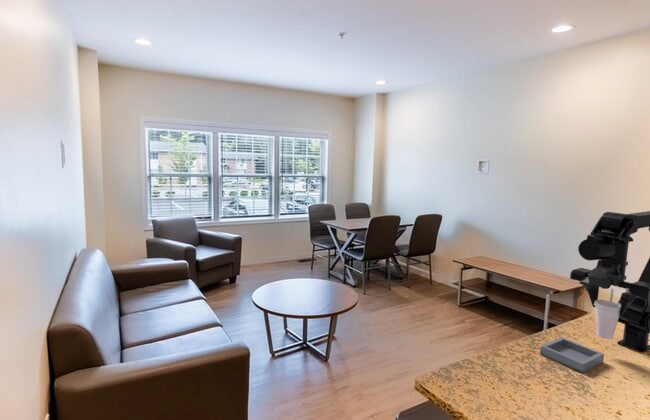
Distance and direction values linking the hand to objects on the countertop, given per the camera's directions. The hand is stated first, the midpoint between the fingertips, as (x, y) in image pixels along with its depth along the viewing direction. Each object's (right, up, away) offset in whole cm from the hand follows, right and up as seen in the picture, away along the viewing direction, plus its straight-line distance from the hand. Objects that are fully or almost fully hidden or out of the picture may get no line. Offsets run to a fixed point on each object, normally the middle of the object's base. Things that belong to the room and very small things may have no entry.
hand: (607, 310), depth 104 cm
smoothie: (0, -8, +1) cm, 8 cm away
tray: (-11, -13, -1) cm, 17 cm away
